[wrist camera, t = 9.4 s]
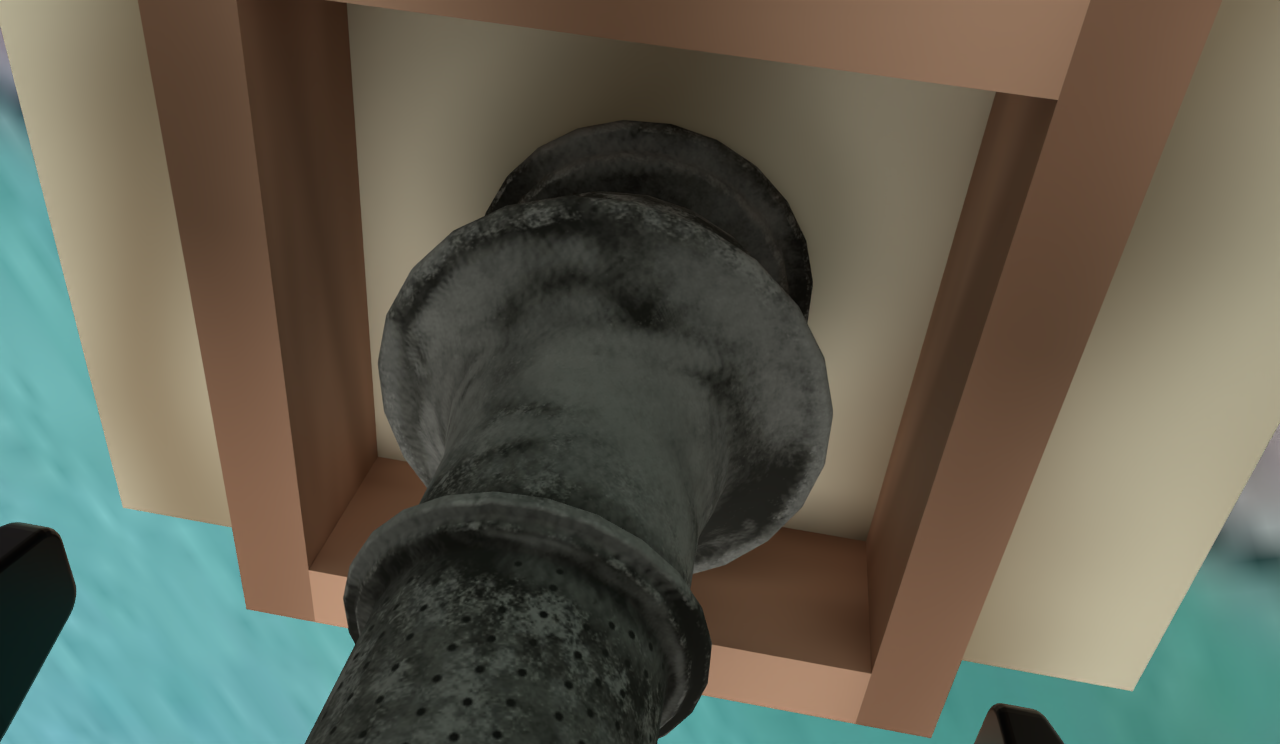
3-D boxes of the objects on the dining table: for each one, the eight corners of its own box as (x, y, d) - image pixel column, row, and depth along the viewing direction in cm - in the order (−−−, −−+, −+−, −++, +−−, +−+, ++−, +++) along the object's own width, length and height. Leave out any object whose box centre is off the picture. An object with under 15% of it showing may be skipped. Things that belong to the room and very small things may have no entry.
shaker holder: (1511, -153, 12) (1800, -96, 9) (1113, 631, 20) (1177, 838, 16) (-9, -324, 14) (-311, -337, 10) (163, 462, 22) (25, 616, 18)
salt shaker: (425, 109, 15) (-383, 901, 5) (832, 88, 14) (834, 1047, 4) (495, 434, 18) (82, 1319, 8) (832, 437, 17) (834, 1468, 7)
